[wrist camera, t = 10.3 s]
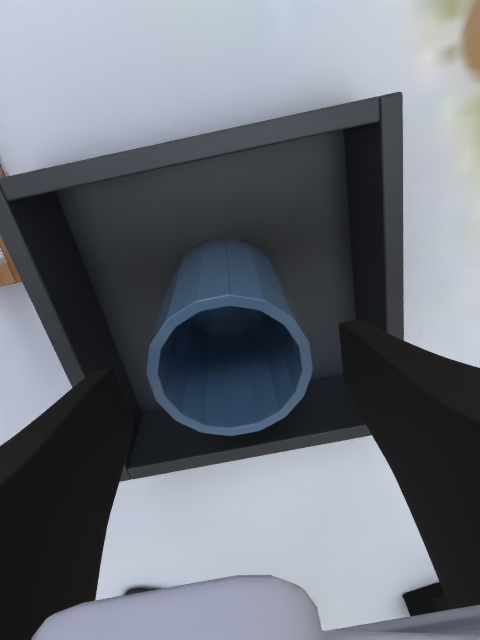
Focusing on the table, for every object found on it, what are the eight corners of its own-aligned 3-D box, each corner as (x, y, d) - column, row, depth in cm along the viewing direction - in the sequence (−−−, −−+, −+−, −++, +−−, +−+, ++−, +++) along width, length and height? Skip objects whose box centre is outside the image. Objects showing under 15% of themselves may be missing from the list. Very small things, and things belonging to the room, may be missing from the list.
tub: (135, 418, 22) (116, 483, 18) (36, 171, 16) (-26, 183, 12) (369, 373, 21) (404, 429, 17) (354, 102, 16) (403, 90, 11)
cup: (186, 346, 19) (172, 447, 13) (158, 249, 17) (124, 315, 11) (286, 326, 19) (319, 420, 13) (270, 226, 17) (301, 279, 11)
